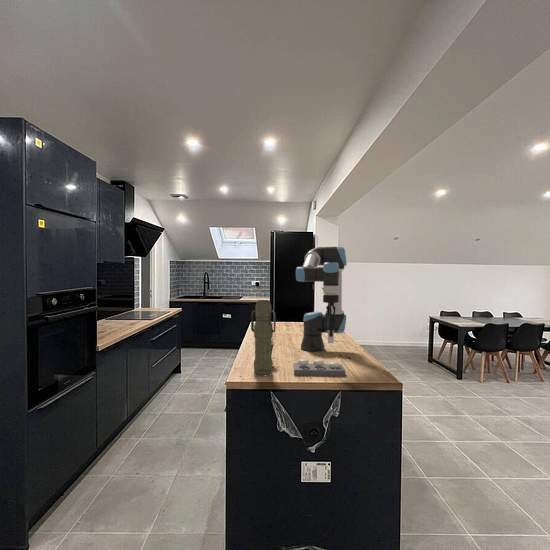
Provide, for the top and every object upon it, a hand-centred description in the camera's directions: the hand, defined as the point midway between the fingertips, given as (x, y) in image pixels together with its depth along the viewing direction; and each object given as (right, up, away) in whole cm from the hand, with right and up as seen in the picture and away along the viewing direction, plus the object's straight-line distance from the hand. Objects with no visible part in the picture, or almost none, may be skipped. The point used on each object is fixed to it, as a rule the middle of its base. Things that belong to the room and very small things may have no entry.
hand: (330, 342), depth 174 cm
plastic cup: (-33, -14, +15) cm, 39 cm away
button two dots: (-13, -13, +1) cm, 18 cm away
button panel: (-6, -14, 0) cm, 15 cm away
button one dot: (+2, -14, 0) cm, 14 cm away
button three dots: (-6, -13, 0) cm, 14 cm away
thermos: (-33, -14, -3) cm, 36 cm away
